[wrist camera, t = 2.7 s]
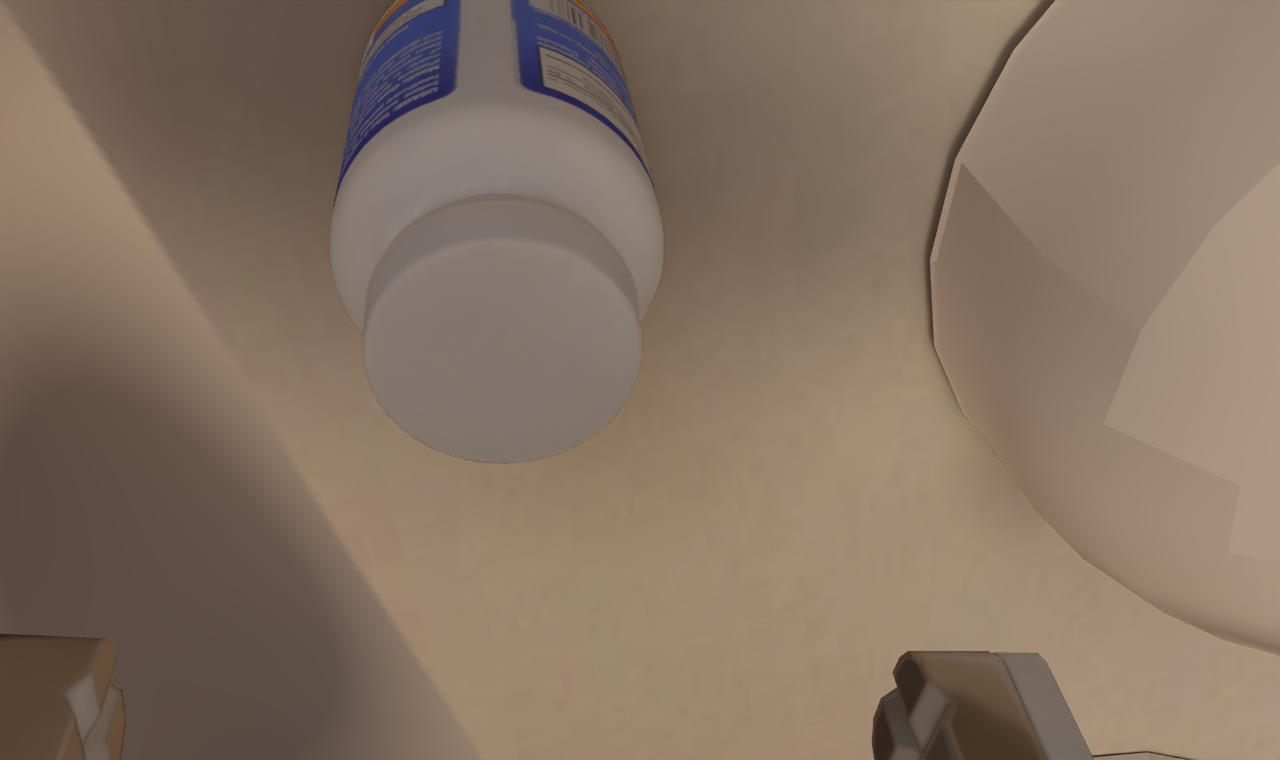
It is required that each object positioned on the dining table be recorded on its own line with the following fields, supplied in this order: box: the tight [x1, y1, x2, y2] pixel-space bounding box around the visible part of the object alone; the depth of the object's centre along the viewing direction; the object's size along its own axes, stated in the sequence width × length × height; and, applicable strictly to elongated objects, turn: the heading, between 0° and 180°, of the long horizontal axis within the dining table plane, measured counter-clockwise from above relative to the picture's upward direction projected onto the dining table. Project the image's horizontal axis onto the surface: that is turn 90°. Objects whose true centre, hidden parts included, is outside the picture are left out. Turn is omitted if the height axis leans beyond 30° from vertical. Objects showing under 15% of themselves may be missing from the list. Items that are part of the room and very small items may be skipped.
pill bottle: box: [330, 0, 664, 464], centre depth 20 cm, size 6×5×10 cm
